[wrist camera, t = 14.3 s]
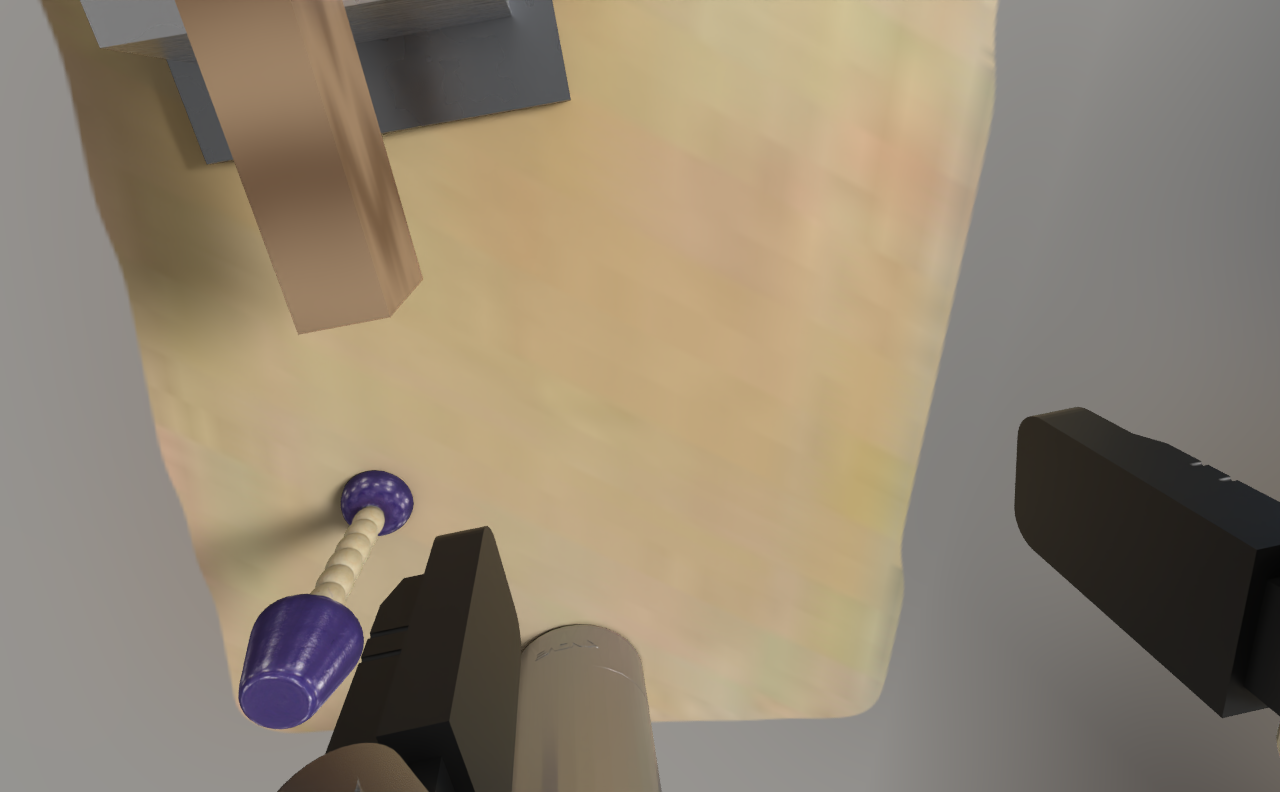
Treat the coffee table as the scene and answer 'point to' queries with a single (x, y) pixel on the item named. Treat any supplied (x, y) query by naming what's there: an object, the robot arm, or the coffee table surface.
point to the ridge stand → (381, 58)
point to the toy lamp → (319, 615)
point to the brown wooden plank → (307, 154)
